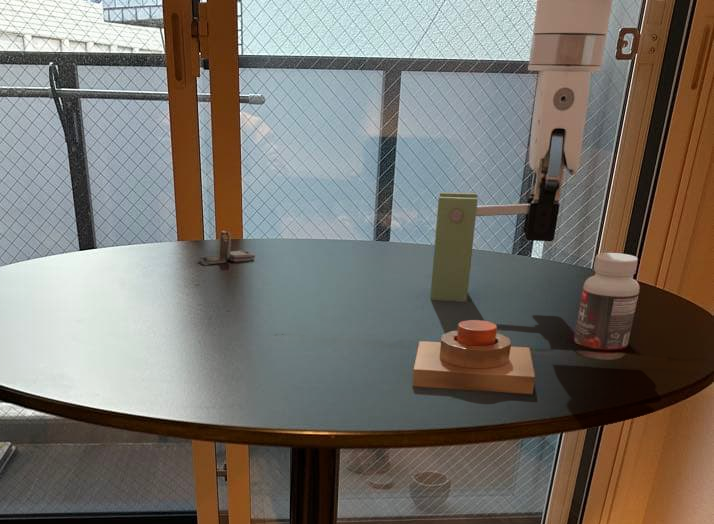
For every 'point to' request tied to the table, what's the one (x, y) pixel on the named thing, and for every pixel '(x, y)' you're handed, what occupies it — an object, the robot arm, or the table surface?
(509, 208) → the lever
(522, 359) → the button block
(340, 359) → the table surface
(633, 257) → the pill bottle
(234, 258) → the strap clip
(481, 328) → the button
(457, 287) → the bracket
